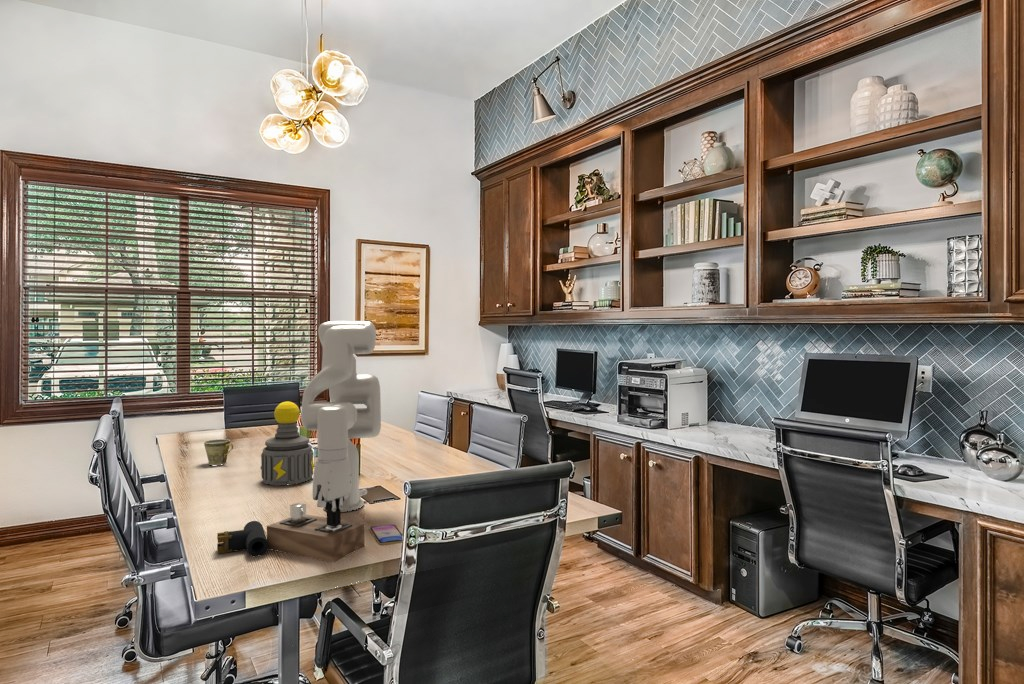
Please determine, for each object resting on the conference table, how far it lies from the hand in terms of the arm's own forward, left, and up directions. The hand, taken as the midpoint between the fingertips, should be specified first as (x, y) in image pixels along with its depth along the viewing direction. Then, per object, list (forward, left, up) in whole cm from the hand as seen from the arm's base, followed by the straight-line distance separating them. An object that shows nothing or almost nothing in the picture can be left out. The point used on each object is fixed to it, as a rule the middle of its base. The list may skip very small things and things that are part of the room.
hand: (333, 524), depth 158 cm
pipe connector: (+9, -23, -7) cm, 26 cm away
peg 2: (0, 0, -6) cm, 7 cm away
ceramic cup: (-59, -113, -7) cm, 127 cm away
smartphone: (-16, +5, -7) cm, 18 cm away
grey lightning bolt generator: (-51, -67, -7) cm, 84 cm away
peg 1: (0, -12, -2) cm, 12 cm away
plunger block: (0, -6, -7) cm, 9 cm away
